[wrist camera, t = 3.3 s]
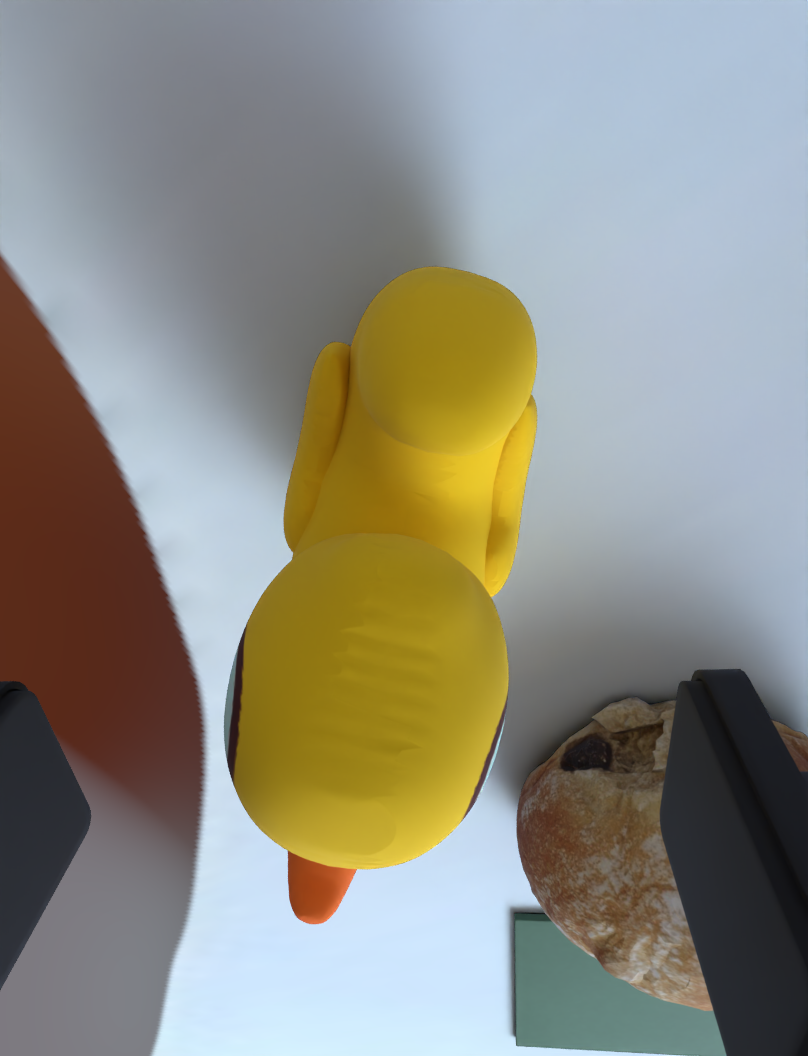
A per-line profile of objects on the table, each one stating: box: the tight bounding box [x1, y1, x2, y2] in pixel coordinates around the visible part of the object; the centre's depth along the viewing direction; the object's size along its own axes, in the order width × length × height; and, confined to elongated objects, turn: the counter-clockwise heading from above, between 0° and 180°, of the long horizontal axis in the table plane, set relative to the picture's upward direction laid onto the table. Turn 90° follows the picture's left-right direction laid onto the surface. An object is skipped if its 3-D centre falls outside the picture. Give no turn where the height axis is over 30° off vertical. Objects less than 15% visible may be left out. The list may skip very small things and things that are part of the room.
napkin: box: [514, 913, 727, 1056], centre depth 29 cm, size 11×13×1 cm
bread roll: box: [517, 696, 808, 1011], centre depth 21 cm, size 10×10×8 cm
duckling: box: [224, 267, 537, 924], centre depth 13 cm, size 11×5×10 cm, turn 167°
